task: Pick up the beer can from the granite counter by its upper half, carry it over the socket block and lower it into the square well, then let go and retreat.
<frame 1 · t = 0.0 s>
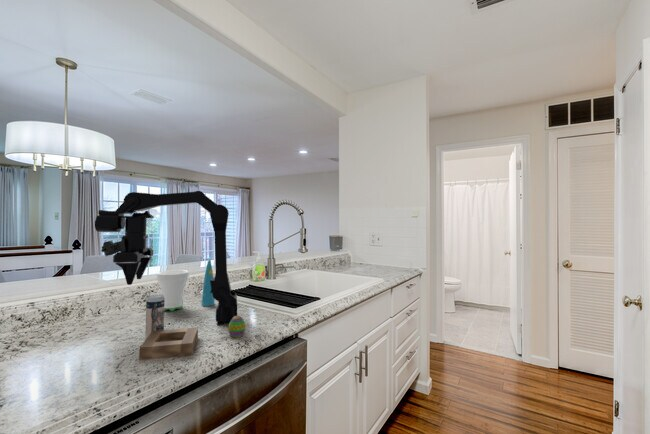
hand: (134, 281, 97), 15 cm above the worktop, fingers open, 9 cm apart
socket: (171, 347, 82), on the worktop
beer can: (154, 338, 89), on the worktop
egg: (236, 336, 92), on the worktop
tube: (208, 305, 125), on the worktop
cup: (172, 309, 119), on the worktop
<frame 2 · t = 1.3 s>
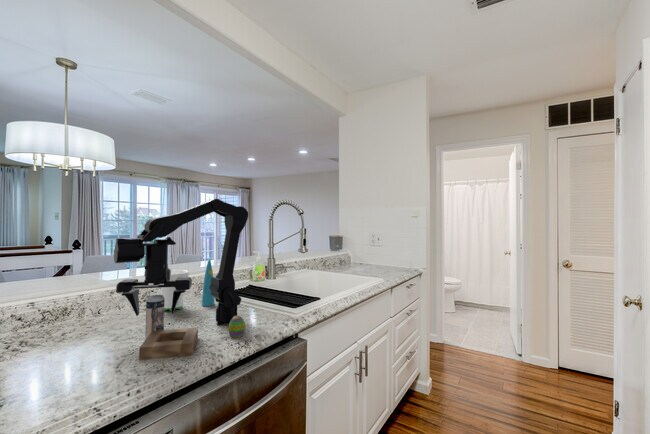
hand: (155, 314, 89), 7 cm above the worktop, fingers open, 9 cm apart
nothing on the worktop moved.
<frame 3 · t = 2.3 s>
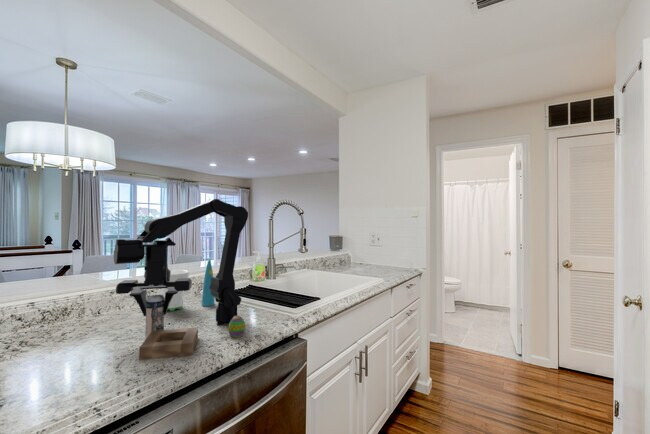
hand: (155, 315, 89), 7 cm above the worktop, fingers closed on beer can, 5 cm apart
beer can: (154, 338, 89), on the worktop, touching gripper
everything else where it was.
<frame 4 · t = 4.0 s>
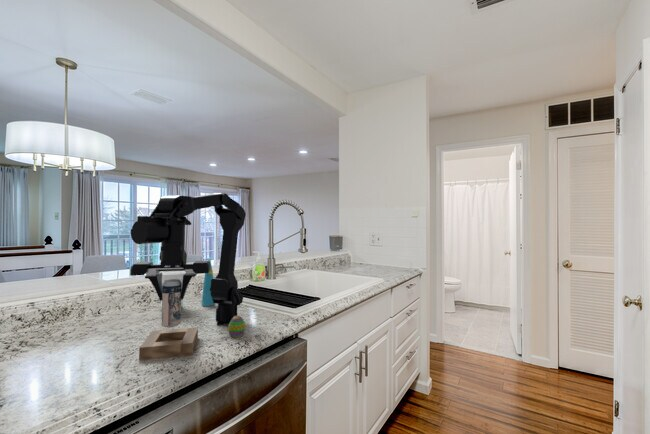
hand: (171, 299, 83), 13 cm above the worktop, fingers closed on beer can, 5 cm apart
beer can: (171, 325, 82), point 6 cm above the worktop, touching gripper
everything else where it was.
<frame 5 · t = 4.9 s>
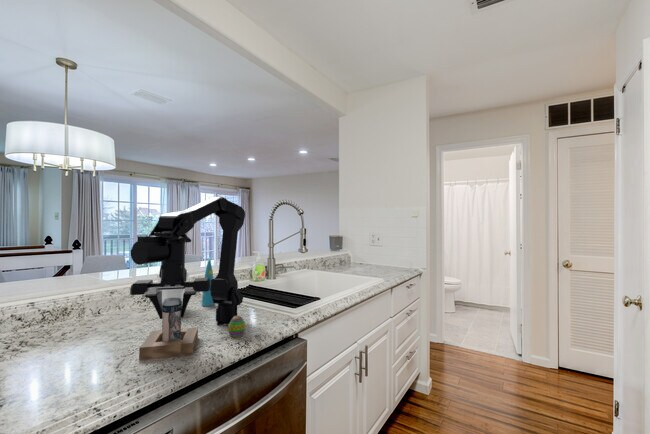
hand: (172, 317, 82), 8 cm above the worktop, fingers closed on beer can, 5 cm apart
beer can: (171, 344, 82), point 1 cm above the worktop, touching gripper
everything else where it was.
when the fingers open (8 cm above the worktop, at t = 5.6 s): beer can stays where it is, resting in socket.
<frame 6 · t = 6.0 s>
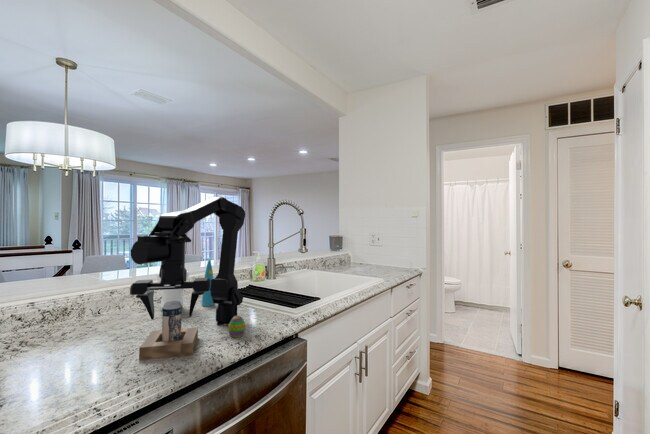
hand: (171, 317, 82), 8 cm above the worktop, fingers open, 9 cm apart
beer can: (171, 348, 82), resting in socket
everything else where it was.
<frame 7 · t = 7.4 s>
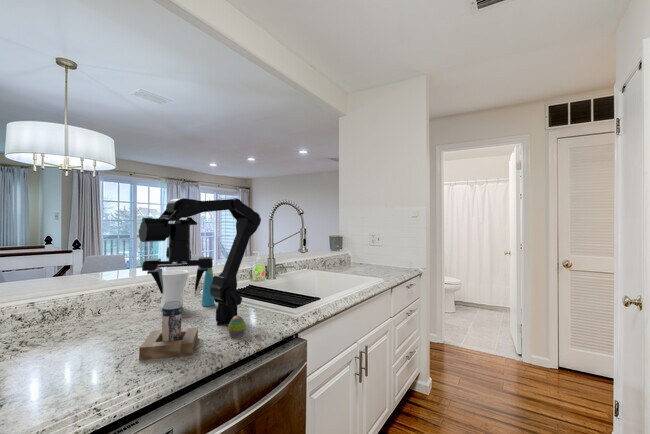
hand: (179, 292, 92), 13 cm above the worktop, fingers open, 9 cm apart
nothing on the worktop moved.
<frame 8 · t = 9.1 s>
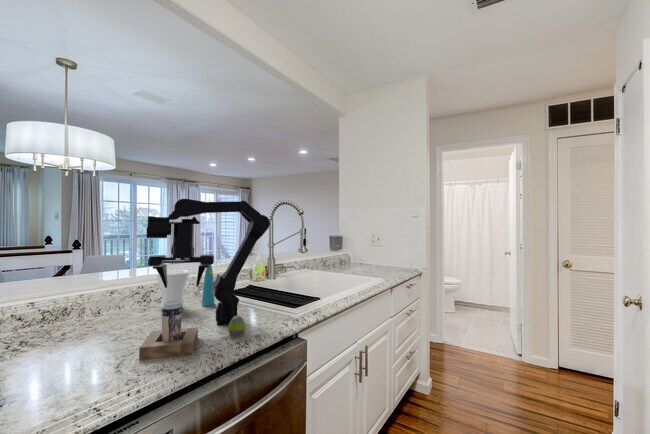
hand: (182, 287, 98), 13 cm above the worktop, fingers open, 9 cm apart
nothing on the worktop moved.
at the end: beer can 0.1 cm off-centre on the socket, point 0.0 cm above the socket's base; beer can tilted 0°; the gripper is holding nothing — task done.
